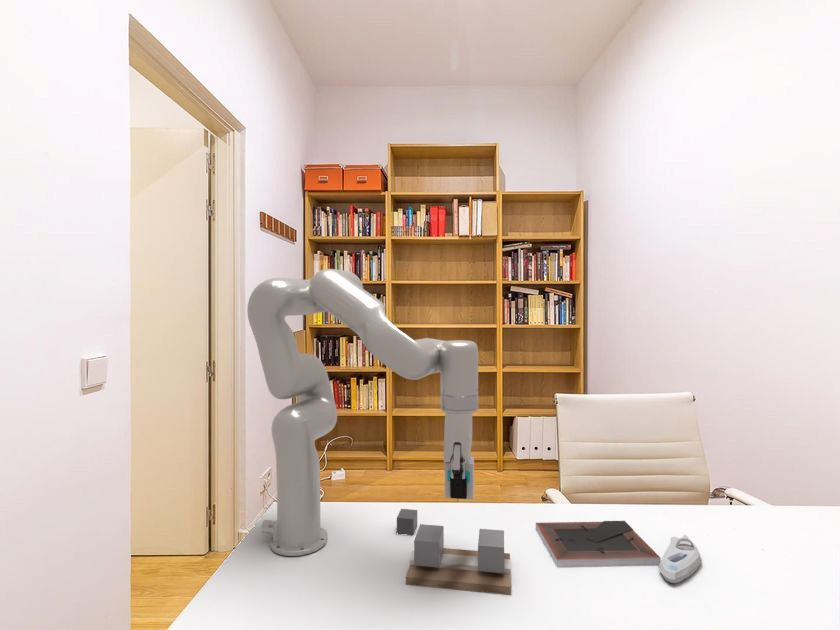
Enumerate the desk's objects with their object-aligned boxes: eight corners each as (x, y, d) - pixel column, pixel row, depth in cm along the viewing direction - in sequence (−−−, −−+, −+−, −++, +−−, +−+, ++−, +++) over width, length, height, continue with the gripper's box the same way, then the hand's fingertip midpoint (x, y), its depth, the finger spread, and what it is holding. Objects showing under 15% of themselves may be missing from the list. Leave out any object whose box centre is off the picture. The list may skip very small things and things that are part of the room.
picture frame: (624, 530, 116) (535, 531, 115) (624, 520, 116) (535, 521, 115) (660, 568, 100) (557, 570, 99) (660, 556, 99) (557, 558, 99)
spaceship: (693, 595, 90) (693, 572, 90) (654, 584, 94) (654, 561, 93) (705, 544, 109) (705, 524, 109) (673, 536, 112) (673, 517, 112)
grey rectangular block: (396, 534, 113) (396, 517, 113) (401, 524, 118) (401, 508, 118) (413, 536, 113) (413, 519, 112) (417, 526, 117) (417, 509, 117)
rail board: (405, 584, 93) (405, 571, 93) (416, 552, 105) (416, 541, 105) (511, 594, 90) (511, 581, 90) (509, 560, 101) (509, 548, 101)
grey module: (444, 498, 95) (444, 463, 95) (447, 488, 100) (447, 455, 99) (472, 500, 94) (472, 464, 94) (474, 490, 99) (474, 456, 99)
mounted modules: (414, 565, 95) (414, 540, 95) (420, 547, 102) (420, 524, 102) (504, 573, 92) (504, 547, 92) (504, 554, 99) (504, 530, 99)
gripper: (445, 393, 105) (446, 476, 106) (435, 411, 89) (435, 509, 89) (480, 394, 104) (480, 478, 105) (476, 412, 87) (476, 512, 88)
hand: (459, 491), depth 97 cm, fingers closed on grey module, 4 cm apart
